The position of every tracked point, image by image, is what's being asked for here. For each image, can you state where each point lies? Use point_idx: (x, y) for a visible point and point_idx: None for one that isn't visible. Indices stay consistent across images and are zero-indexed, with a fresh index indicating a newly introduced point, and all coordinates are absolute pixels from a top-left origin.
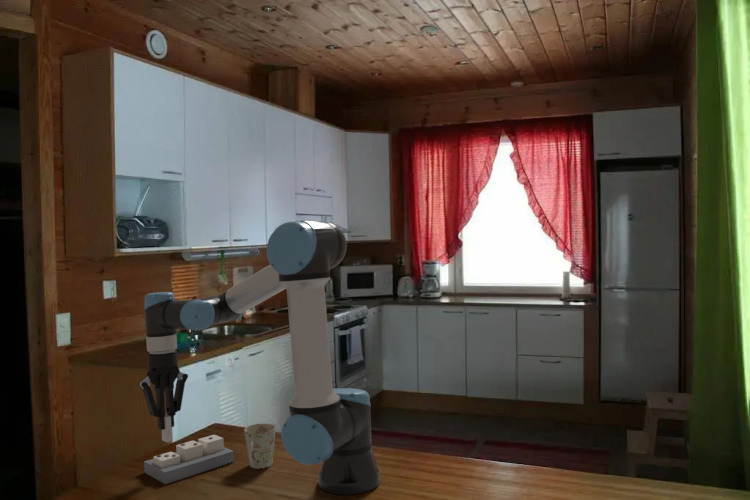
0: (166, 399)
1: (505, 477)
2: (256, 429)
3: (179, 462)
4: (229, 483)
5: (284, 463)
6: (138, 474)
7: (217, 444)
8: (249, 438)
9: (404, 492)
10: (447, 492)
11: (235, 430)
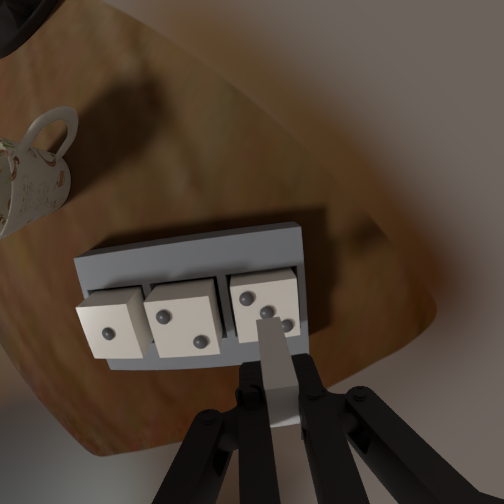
0: (278, 489)
1: None
2: None
3: (233, 278)
4: (154, 106)
5: None
6: (318, 336)
7: (100, 299)
8: (23, 164)
9: None
10: None
11: (65, 416)
